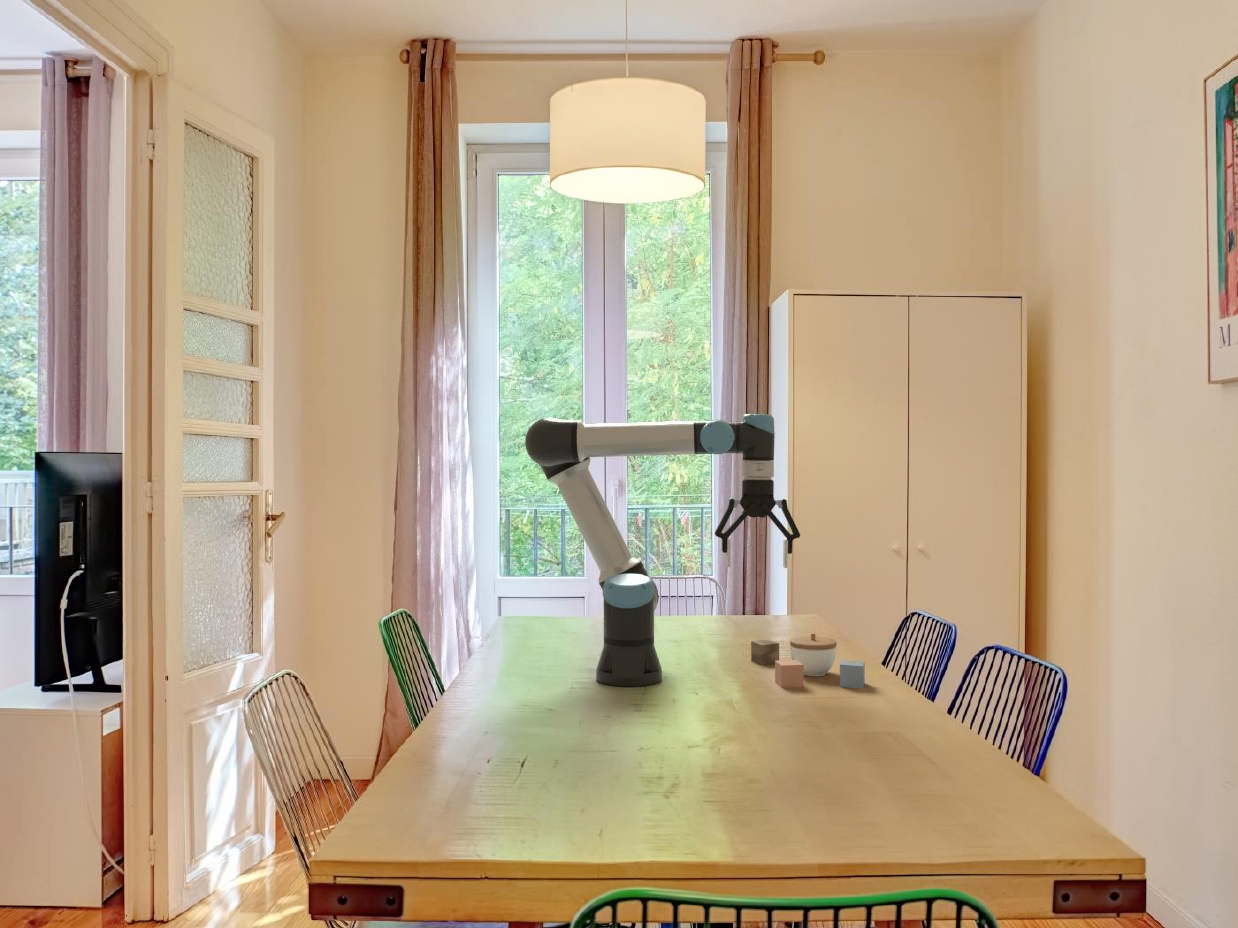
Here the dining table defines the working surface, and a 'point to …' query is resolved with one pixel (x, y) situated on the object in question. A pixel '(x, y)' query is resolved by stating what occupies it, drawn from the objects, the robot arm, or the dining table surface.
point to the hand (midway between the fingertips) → (756, 567)
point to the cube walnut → (764, 652)
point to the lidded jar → (814, 654)
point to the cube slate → (852, 674)
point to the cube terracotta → (789, 673)
